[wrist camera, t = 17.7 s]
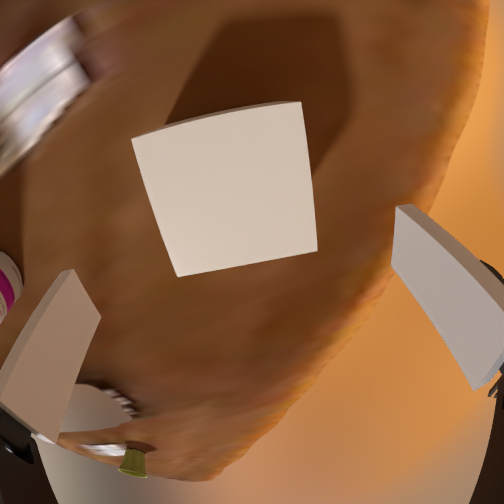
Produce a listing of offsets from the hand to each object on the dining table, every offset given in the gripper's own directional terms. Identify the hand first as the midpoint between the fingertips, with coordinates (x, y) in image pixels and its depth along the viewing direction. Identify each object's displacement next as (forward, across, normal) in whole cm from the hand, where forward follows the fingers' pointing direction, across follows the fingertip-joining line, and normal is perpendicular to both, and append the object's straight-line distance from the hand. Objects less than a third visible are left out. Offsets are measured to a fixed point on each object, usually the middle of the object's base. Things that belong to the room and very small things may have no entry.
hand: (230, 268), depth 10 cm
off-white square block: (+17, 0, 0) cm, 17 cm away
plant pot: (+17, -49, -74) cm, 90 cm away
